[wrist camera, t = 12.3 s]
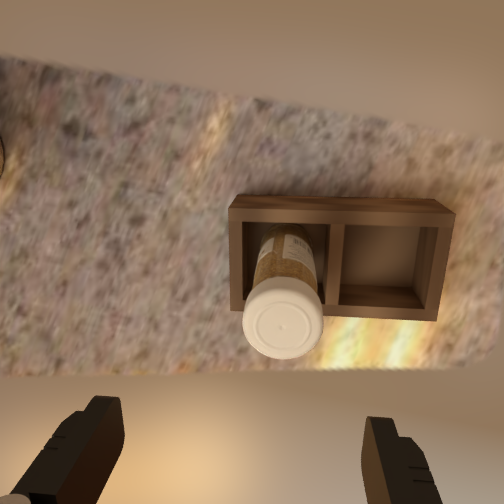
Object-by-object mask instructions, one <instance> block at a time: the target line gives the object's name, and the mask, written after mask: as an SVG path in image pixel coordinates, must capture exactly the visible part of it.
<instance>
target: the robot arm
mask: <svg viewBox="0 0 504 504" xmlns="http://www.w3.org/2000/svg"><path fill="white" fill-rule="evenodd" d="M3 162H4V159H3V148H2V144H1V140H0V175H1V173H2V168H3ZM124 437H125V433H124V425H123V417H122V410H121V403H120V399H119V398H118V397H110V396H94V397H93V398H92V400H91V401H90V402H89V404H88V405H87V407H86V408H85V410H84V411H75V412H74V413H73V414H72V415H70V416H69V417H68V418H66V419H65V420H64V421H63V422H61V424H60V425H59V427H58V428H57V429H56V431H55V432H54V434H53V435H52V438H50V439H49V440H48V442H47V443H46V445H45V446H44V449H43V450H41V451H40V453H39V454H38V456H37V457H36V458H35V460H34V461H33V462H32V464H31V465H30V467H29V468H28V469H27V471H26V472H25V474H24V475H23V476H22V478H21V479H20V480H19V482H18V483H17V485H16V486H15V488H14V489H13V490H12V491H11V493H10V494H9V495H5V496H2V497H0V504H96V503H97V501H98V499H99V497H100V495H101V493H102V490H103V489H104V487H105V485H106V483H107V481H108V478H109V476H110V474H111V472H112V470H113V468H114V466H115V464H116V462H117V460H118V458H119V456H120V454H121V451H122V448H123V444H124ZM361 467H362V476H363V481H364V486H365V492H366V497H367V502H368V504H443V503H442V501H441V498H440V495H439V492H438V490H437V487H436V485H435V484H434V479H433V477H432V474H431V472H430V471H429V466H428V463H427V461H426V458H425V455H424V453H423V451H422V450H421V449H420V448H419V447H418V445H417V444H416V443H415V442H414V441H413V440H412V438H410V437H399V436H398V433H397V430H396V427H395V424H394V421H393V419H392V418H384V417H370V416H368V417H367V418H366V424H365V431H364V439H363V446H362V454H361Z"/></svg>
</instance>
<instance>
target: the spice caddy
mask: <svg viewBox="0 0 504 504" xmlns="http://www.w3.org/2000/svg"><path fill="white" fill-rule="evenodd" d="M228 213H229V262H230V311H244V308H245V304H246V300H247V298H248V296H249V294H250V292H251V291H252V288H253V284H254V276H255V271H256V267H257V261H258V257H259V253H260V245H261V240H262V238H263V236H264V234H265V233H266V232H267V231H268V230H269V229H270V228H271V227H273V226H274V225H276V224H279V223H293V224H296V225H299V226H300V227H302V228H303V229H305V230H306V231H307V233H308V234H309V236H310V238H311V240H312V244H313V252H312V253H313V257H314V264H315V271H316V279H317V295H318V297H319V299H320V302H321V305H322V311H323V316H341V317H361V318H380V319H399V320H418V321H437V315H438V310H439V304H440V299H441V293H442V288H443V282H444V277H445V271H446V266H447V260H448V255H449V249H450V243H451V238H452V232H453V227H454V221H455V216H456V214H455V213H454V212H452V211H451V210H449V209H448V208H446V207H445V206H443V205H442V204H440V203H439V202H437V201H436V200H435V199H405V198H360V197H316V196H272V195H237V196H236V198H235V199H234V201H233V202H232V204H231V205H230V206H229V208H228Z"/></svg>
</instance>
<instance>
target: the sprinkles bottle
mask: <svg viewBox="0 0 504 504" xmlns="http://www.w3.org/2000/svg"><path fill="white" fill-rule="evenodd" d="M312 252H313V244H312V240H311V238H310V236H309V234H308V233H307V231H306V230H305V229H303V228H302V227H300V226H299V225H296V224H293V223H279V224H276V225H274V226H273V227H271V228H270V229H269V230H268V231H267V232H266V233H265V234H264V236H263V238H262V240H261V245H260V253H259V257H258V261H257V267H256V271H255V276H254V284H253V288H252V291H251V292H250V294H249V296H248V298H247V300H246V304H245V308H244V312H243V320H242V325H243V330H244V334H245V336H246V338H247V340H248V341H249V343H250V344H251V345H252V346H253V347H254V348H255V349H256V350H257V351H259V352H260V353H262V354H264V355H266V356H269V357H271V358H276V359H293V358H297V357H299V356H302V355H304V354H306V353H307V352H309V351H310V350H311V349H313V348H314V347H315V346H316V344H317V343H318V341H319V339H320V337H321V335H322V332H323V311H322V305H321V302H320V299H319V297H318V295H317V279H316V271H315V264H314V257H313V253H312Z"/></svg>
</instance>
